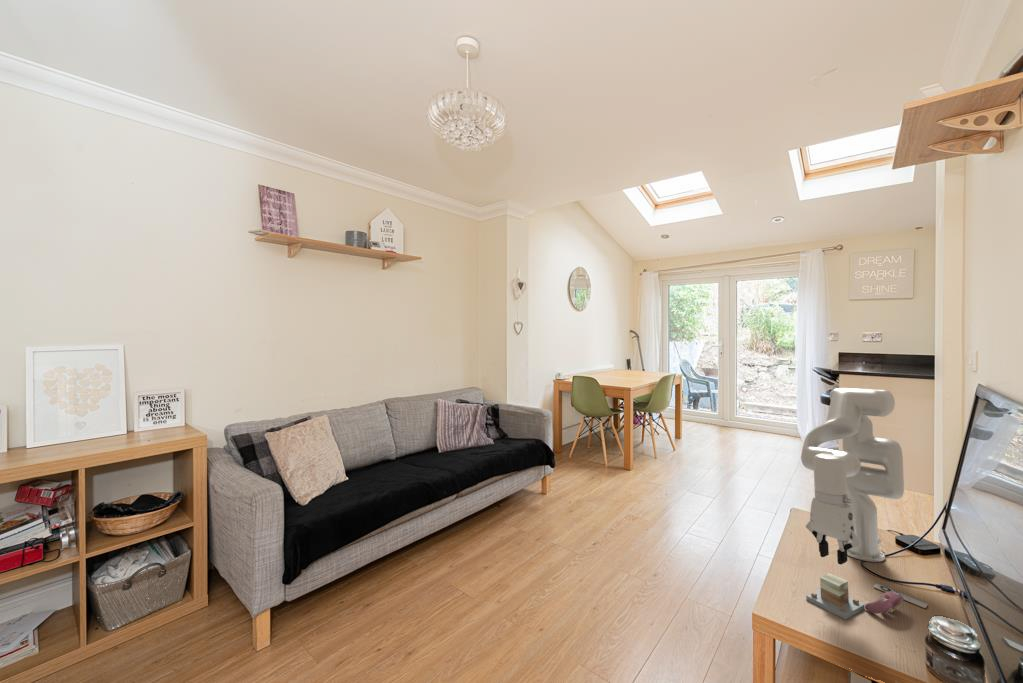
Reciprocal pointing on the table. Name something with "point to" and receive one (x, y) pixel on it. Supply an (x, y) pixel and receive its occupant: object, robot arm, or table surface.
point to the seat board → (842, 611)
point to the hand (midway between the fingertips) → (833, 558)
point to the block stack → (834, 589)
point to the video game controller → (885, 603)
